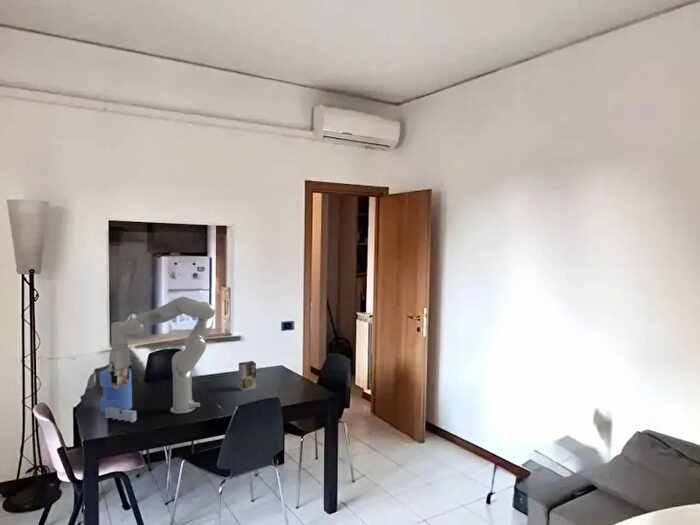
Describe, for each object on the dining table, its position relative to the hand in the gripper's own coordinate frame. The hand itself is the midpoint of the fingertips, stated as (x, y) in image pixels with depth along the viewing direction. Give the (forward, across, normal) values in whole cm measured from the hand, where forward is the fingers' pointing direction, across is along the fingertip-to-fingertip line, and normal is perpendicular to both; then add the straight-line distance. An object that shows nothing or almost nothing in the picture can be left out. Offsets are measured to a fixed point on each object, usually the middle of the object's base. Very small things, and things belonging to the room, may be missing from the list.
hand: (120, 380), depth 257 cm
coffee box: (+20, -69, +32) cm, 79 cm away
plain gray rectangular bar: (+20, 0, 0) cm, 20 cm away
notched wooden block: (+3, 0, 0) cm, 3 cm away
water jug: (+20, -12, -14) cm, 27 cm away
